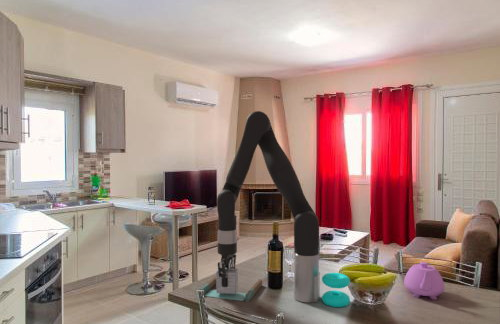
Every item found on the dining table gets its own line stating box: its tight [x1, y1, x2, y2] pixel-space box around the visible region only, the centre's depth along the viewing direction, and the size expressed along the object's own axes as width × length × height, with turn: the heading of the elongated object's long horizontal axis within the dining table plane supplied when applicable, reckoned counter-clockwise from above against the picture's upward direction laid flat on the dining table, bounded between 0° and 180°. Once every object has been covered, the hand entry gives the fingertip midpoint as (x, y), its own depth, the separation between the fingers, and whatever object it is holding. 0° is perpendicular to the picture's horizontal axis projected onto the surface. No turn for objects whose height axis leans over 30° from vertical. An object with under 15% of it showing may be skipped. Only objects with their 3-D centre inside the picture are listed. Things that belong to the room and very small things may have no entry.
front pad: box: [203, 288, 247, 302], centre depth 142 cm, size 16×7×1 cm, turn 72°
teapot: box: [403, 261, 445, 301], centre depth 141 cm, size 20×14×12 cm
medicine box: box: [215, 267, 239, 294], centre depth 142 cm, size 8×4×9 cm, turn 84°
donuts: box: [321, 272, 351, 308], centre depth 134 cm, size 10×10×10 cm
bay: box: [198, 275, 263, 303], centre depth 147 cm, size 20×18×2 cm
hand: (227, 284), depth 142 cm, fingers closed on medicine box, 5 cm apart
